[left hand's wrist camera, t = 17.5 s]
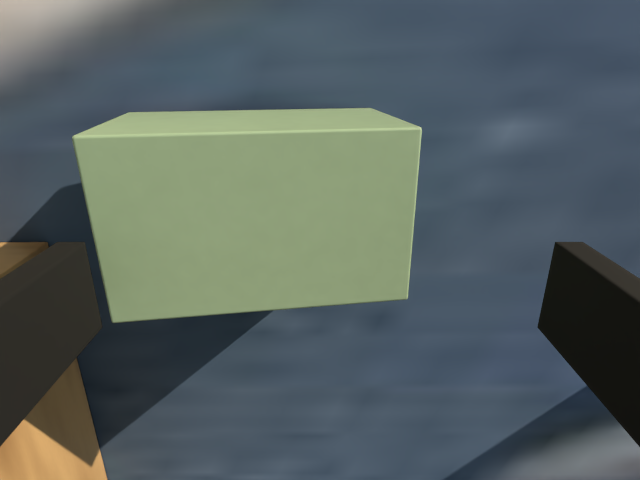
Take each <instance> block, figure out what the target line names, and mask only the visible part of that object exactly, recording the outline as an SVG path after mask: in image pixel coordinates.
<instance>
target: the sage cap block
mask: <svg viewBox="0 0 640 480" xmlns="http://www.w3.org/2000/svg"><path fill="white" fill-rule="evenodd" d="M421 133H422V129H421V127H418V126H416V125H413V124H411V123H408V122H405V121H403V120H400V119H398V118H395V117H392V116H390V115H387V114H385V113H382V112H379V111H377V110H374V109H372V108H345V109H290V110H235V111H180V112H129V113H126V114H124V115H122V116H119V117H117V118H115V119H112V120H110V121H107V122H105V123H103V124H100V125H98V126H96V127H93V128H91V129H89V130H86V131H84V132H81V133H79V134H77V135H74V136H73V137H72V141H73V145H74V150H75V155H76V159H77V164H78V168H79V173H80V178H81V182H82V187H83V192H84V196H85V201H86V206H87V210H88V215H89V219H90V224H91V229H92V233H93V238H94V243H95V247H96V252H97V256H98V261H99V266H100V270H101V275H102V280H103V284H104V289H105V294H106V298H107V303H108V307H109V312H110V317H111V321H112V323H120V322H132V321H145V320H157V319H170V318H182V317H195V316H207V315H219V314H232V313H244V312H257V311H269V310H282V309H294V308H307V307H319V306H332V305H344V304H357V303H369V302H382V301H394V300H406V299H407V298H408V288H409V276H410V264H411V252H412V240H413V228H414V216H415V204H416V193H417V181H418V169H419V157H420V145H421Z"/></svg>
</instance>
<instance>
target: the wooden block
mask: <svg viewBox="0 0 640 480" xmlns="http://www.w3.org/2000/svg"><path fill="white" fill-rule="evenodd" d="M47 248H49V246H48V242H0V279H1V278H2V277H4V276H5V275H7V274H9V273H10V272H12V271H13V270H15V269H16V268H18V267H19V266H21V265H22V264H24V263H26V262H27V261H29V260H30V259H32V258H33V257H35V256H36V255H38V254H40V253H41V252H43V251H44V250H46V249H47ZM0 480H107V476H106V472H105V468H104V464H103V460H102V457H101V453H100V449H99V445H98V441H97V437H96V433H95V429H94V425H93V421H92V417H91V413H90V409H89V405H88V401H87V397H86V393H85V389H84V385H83V381H82V377H81V373H80V369H79V365H78V361H77V358H76V359H75V360H74V361H73V362H72V363H71V365H70V366H69V367H68V368H67V369H66V370H65V372H64V373H63V374H62V375H61V376H60V377H59V379H58V380H57V381H56V382H55V383H54V384H53V386H52V387H51V388H50V389H49V390H48V392H47V393H46V394H45V395H44V396H43V397H42V399H41V400H40V401H39V402H38V403H37V404H36V406H35V407H34V408H33V409H32V410H31V411H30V413H29V414H28V415H27V416H26V417H25V418H24V420H23V421H22V422H21V423H20V424H19V425H18V427H17V428H16V429H15V430H14V431H13V432H12V434H11V435H10V436H9V437H8V438H7V439H6V441H5V442H4V443H3V444H2V445H1V447H0Z"/></svg>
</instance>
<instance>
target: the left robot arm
mask: <svg viewBox="0 0 640 480" xmlns="http://www.w3.org/2000/svg"><path fill="white" fill-rule="evenodd" d="M101 328H102V323H101V318H100V313H99V308H98V303H97V299H96V294H95V289H94V284H93V279H92V275H91V270H90V265H89V260H88V255H87V250H86V246H85V242H57V243H55V244H54V245H52V246H50V247H49V248H47V249H46V250H44V251H43V252H41V253H40V254H38V255H36V256H35V257H33V258H32V259H30V260H29V261H27V262H26V263H24V264H22V265H21V266H19V267H18V268H16V269H15V270H13V271H12V272H10V273H9V274H7V275H5V276H4V277H2V278H1V279H0V447H1V445H2V444H3V443H4V442H5V441H6V439H7V438H8V437H9V436H10V435H11V434H12V432H13V431H14V430H15V429H16V428H17V427H18V425H19V424H20V423H21V422H22V421H23V420H24V418H25V417H26V416H27V415H28V414H29V413H30V411H31V410H32V409H33V408H34V407H35V406H36V404H37V403H38V402H39V401H40V400H41V399H42V397H43V396H44V395H45V394H46V393H47V392H48V390H49V389H50V388H51V387H52V386H53V384H54V383H55V382H56V381H57V380H58V379H59V377H60V376H61V375H62V374H63V373H64V372H65V370H66V369H67V368H68V367H69V366H70V365H71V363H72V362H73V361H74V360H75V359H76V358H77V356H78V355H79V354H80V353H81V352H82V351H83V349H84V348H85V347H86V346H87V345H88V344H89V342H90V341H91V340H92V339H93V338H94V337H95V335H96V334H97V333H98V332H99V331H100V329H101ZM538 328H539V329H540V331H541V332H542V333H543V334H544V335H545V337H546V338H547V339H548V340H549V341H550V342H551V344H552V345H553V346H554V347H555V348H556V349H557V351H558V352H559V353H560V354H561V355H562V356H563V358H564V359H565V360H566V361H567V362H568V363H569V365H570V366H571V367H572V368H573V369H574V370H575V372H576V373H577V374H578V375H579V376H580V377H581V379H582V380H583V381H584V382H585V383H586V384H587V386H588V387H589V388H590V389H591V390H592V392H593V393H594V394H595V395H596V396H597V397H598V399H599V400H600V401H601V402H602V403H603V404H604V406H605V407H606V408H607V409H608V410H609V411H610V413H611V414H612V415H613V416H614V417H615V418H616V420H617V421H618V422H619V423H620V424H621V425H622V427H623V428H624V429H625V430H626V431H627V432H628V434H629V435H630V436H631V437H632V438H633V439H634V441H635V442H636V443H637V444H638V445H639V447H640V279H639V278H638V277H636V276H635V275H633V274H631V273H630V272H628V271H627V270H625V269H624V268H622V267H621V266H619V265H618V264H616V263H614V262H613V261H611V260H610V259H608V258H607V257H605V256H604V255H602V254H600V253H599V252H597V251H596V250H594V249H593V248H591V247H590V246H588V245H586V244H585V243H583V242H555V246H554V250H553V255H552V260H551V265H550V270H549V275H548V279H547V284H546V289H545V294H544V299H543V303H542V308H541V313H540V318H539V323H538Z"/></svg>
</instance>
